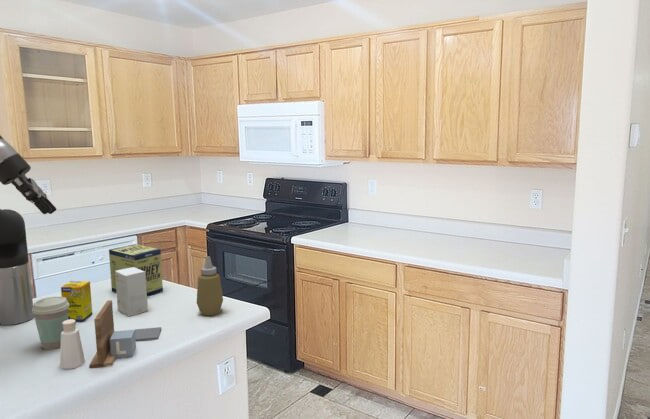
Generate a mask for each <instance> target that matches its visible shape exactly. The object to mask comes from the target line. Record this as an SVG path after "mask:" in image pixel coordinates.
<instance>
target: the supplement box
mask: <svg viewBox="0 0 650 419" xmlns="http://www.w3.org/2000/svg"><path fill="white" fill-rule="evenodd" d="M60 294H61V295H60V296H61V297H65V298H66V299H67V301H68V302H69V307H68V320H69V319H73V320H75V321H76V322H79V323H80V322H81V323H83V322H85V321H86V320H88V318H90V317H91V316H92V315H93V304H92V303H93V302H92V291H91V281H90V280H87V281H86V280H85V281H80V280H78V281H76V280H75V281H74V280H70V281H69V282H67V283H65V284H64V285H62V286H60ZM76 322H75V323H76Z"/></svg>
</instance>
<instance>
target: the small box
mask: <svg viewBox="0 0 650 419" xmlns="http://www.w3.org/2000/svg"><path fill="white" fill-rule="evenodd" d="M115 278H116V292H117V293H116V304H117V311H119V312H121V313H122V314H124V315H126V316H128V317H132V316H135V315H139V314H143V313H146V312H148V311H149V308H148V305H149V304H148V297H147V290H146V275H145V271H142V270H140V269H137V268H135V267H131V268H126V269H121V270H116V271H115Z"/></svg>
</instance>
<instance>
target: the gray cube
mask: <svg viewBox="0 0 650 419" xmlns="http://www.w3.org/2000/svg"><path fill="white" fill-rule="evenodd" d="M136 342H137V341H136V339H135V329H126V330H125V329H124V330H114V333H113V335H112V336H111V338H110V348H111V355H115V356H116V358H115V359H117V358H118V359H120V358H129V357H134V355H135V352H136V350H137V343H136Z"/></svg>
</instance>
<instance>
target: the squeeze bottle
mask: <svg viewBox="0 0 650 419" xmlns="http://www.w3.org/2000/svg"><path fill="white" fill-rule="evenodd" d="M211 259H212V258H211V256H210V255H209V256H206V257H205V261H204V266H203V267H200V275H199V276H197V288H196V290H197V291H196V305H197V307H198V309H199V312H200V314H201V315H203V316H215V315H217V314H219V313H220V312H221V309H222V305H223V302H224V296H223V288H222V285H221V283H222V282H221V276H220V274H219V273H217V267H216V266H214V265H213V263H212V260H211Z"/></svg>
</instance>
